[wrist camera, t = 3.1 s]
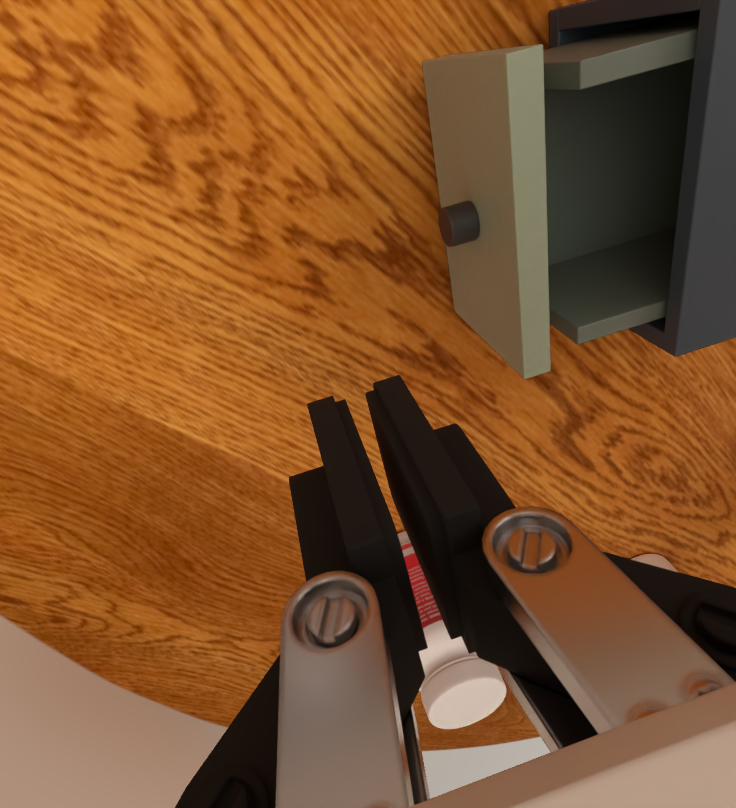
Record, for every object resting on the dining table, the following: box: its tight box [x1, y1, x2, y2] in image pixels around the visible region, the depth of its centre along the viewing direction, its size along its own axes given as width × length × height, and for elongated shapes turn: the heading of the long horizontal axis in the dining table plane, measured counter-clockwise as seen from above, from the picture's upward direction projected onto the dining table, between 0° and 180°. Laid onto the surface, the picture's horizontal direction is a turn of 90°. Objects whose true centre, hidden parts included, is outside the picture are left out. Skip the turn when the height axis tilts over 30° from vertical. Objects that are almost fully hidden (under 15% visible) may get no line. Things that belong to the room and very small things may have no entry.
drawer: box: [422, 10, 700, 379], centre depth 22 cm, size 15×11×8 cm
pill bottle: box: [398, 531, 506, 729], centre depth 34 cm, size 6×6×11 cm
